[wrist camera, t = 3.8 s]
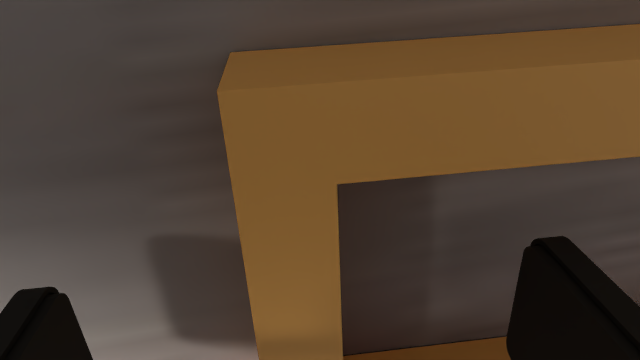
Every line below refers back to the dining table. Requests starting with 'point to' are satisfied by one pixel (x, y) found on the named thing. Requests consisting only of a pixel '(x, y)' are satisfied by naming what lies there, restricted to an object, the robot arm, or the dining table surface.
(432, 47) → the link
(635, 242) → the dining table surface
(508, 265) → the dining table surface
